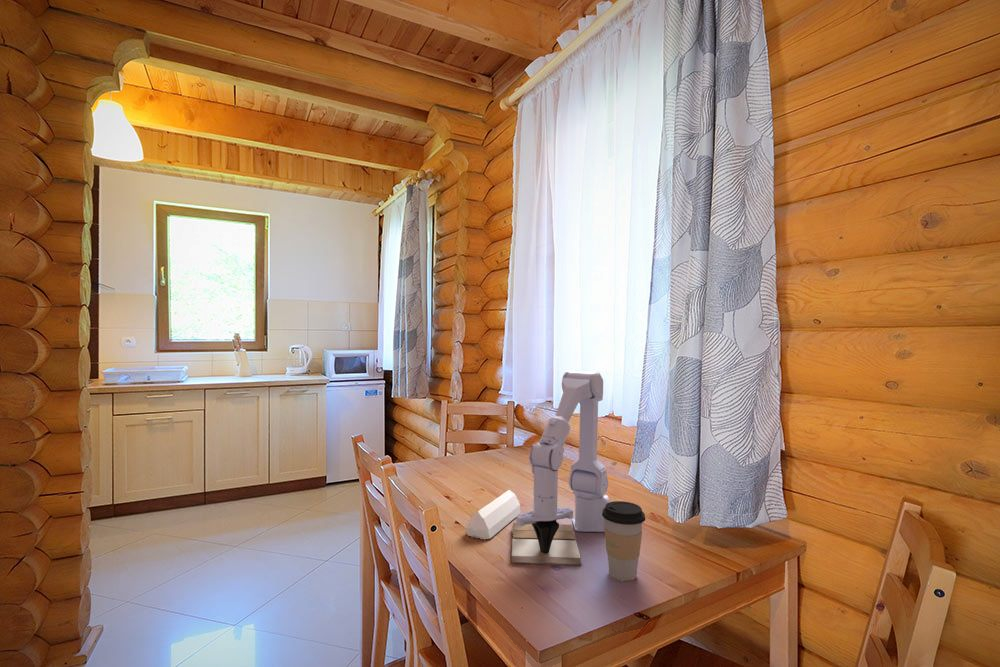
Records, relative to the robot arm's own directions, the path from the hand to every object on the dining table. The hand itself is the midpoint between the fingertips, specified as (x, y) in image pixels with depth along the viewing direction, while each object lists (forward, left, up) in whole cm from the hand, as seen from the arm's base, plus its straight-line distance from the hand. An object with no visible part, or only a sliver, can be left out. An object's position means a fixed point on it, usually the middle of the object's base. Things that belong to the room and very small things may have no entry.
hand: (544, 551), depth 110 cm
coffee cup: (-17, +6, -2) cm, 18 cm away
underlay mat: (0, -8, -2) cm, 8 cm away
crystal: (+13, -20, -2) cm, 24 cm away
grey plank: (0, -2, -1) cm, 2 cm away
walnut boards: (0, -12, -1) cm, 12 cm away
